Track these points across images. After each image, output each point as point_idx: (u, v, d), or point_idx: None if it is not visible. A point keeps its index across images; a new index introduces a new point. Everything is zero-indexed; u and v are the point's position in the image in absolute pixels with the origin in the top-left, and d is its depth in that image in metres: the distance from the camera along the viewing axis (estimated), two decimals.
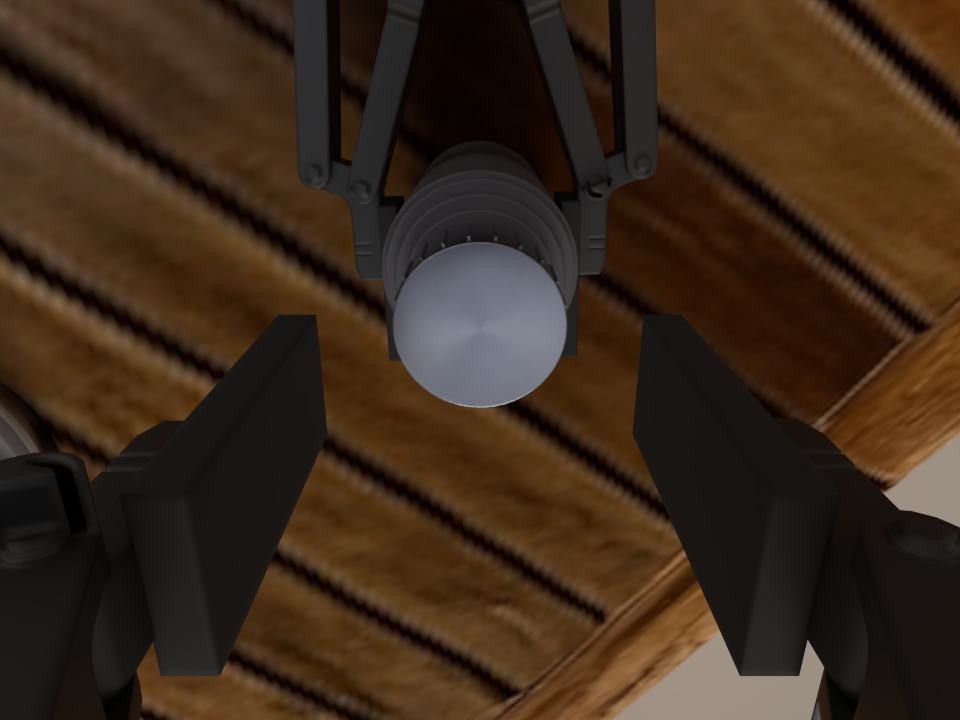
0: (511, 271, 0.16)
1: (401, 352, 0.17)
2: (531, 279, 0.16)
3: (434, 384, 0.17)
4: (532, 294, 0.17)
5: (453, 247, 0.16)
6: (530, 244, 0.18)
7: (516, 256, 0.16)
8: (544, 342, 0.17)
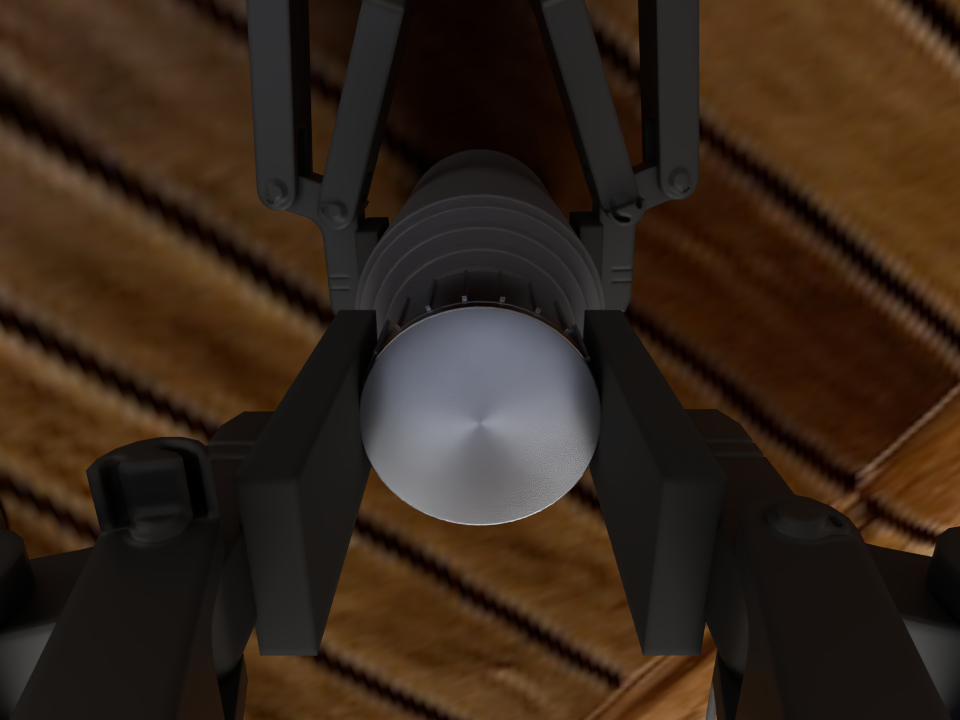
0: (524, 346, 0.12)
1: (371, 454, 0.12)
2: (553, 357, 0.12)
3: (417, 496, 0.13)
4: (554, 377, 0.12)
5: (442, 314, 0.11)
6: (549, 300, 0.13)
7: (532, 326, 0.11)
8: (570, 441, 0.12)
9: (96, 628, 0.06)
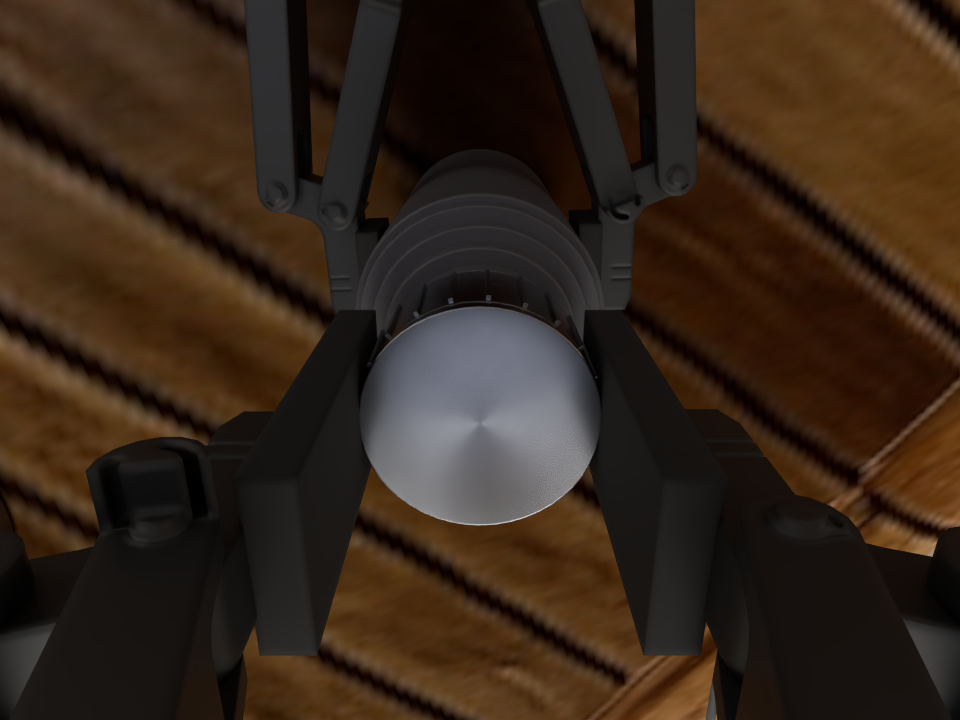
0: (389, 436, 0.12)
1: (570, 483, 0.13)
2: (380, 410, 0.12)
3: (587, 426, 0.12)
4: (395, 397, 0.12)
5: (411, 505, 0.13)
6: None
7: (369, 442, 0.12)
8: (440, 344, 0.12)
9: (96, 627, 0.06)
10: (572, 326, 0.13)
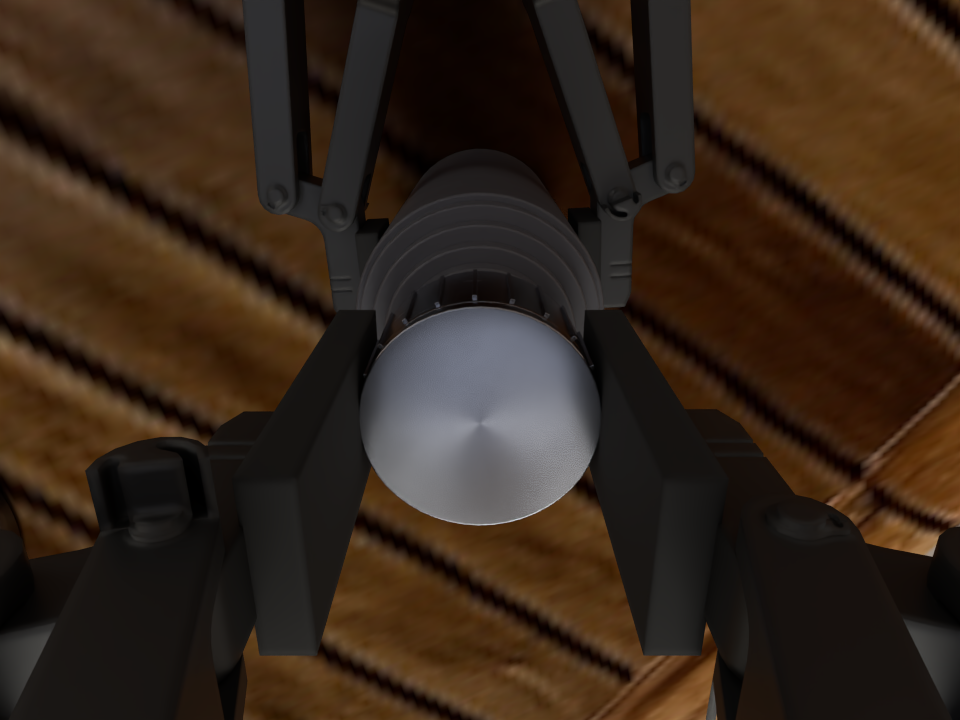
0: (543, 479, 0.13)
1: (479, 312, 0.11)
2: (524, 498, 0.13)
3: (415, 341, 0.11)
4: (505, 495, 0.13)
5: (600, 424, 0.12)
6: None
7: (559, 489, 0.13)
8: (435, 492, 0.13)
9: (96, 628, 0.06)
10: (373, 356, 0.13)
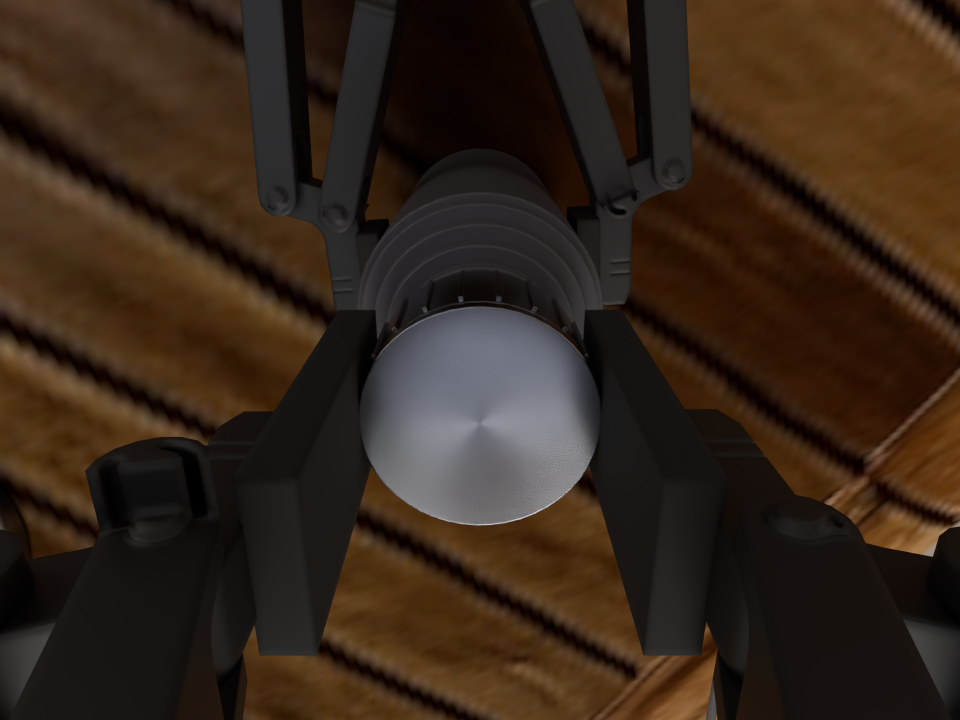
0: (494, 337, 0.11)
1: (389, 483, 0.13)
2: (525, 339, 0.11)
3: (447, 509, 0.13)
4: (534, 358, 0.12)
5: (405, 331, 0.11)
6: (517, 283, 0.13)
7: (494, 316, 0.11)
8: (573, 414, 0.12)
9: (96, 627, 0.06)
10: None
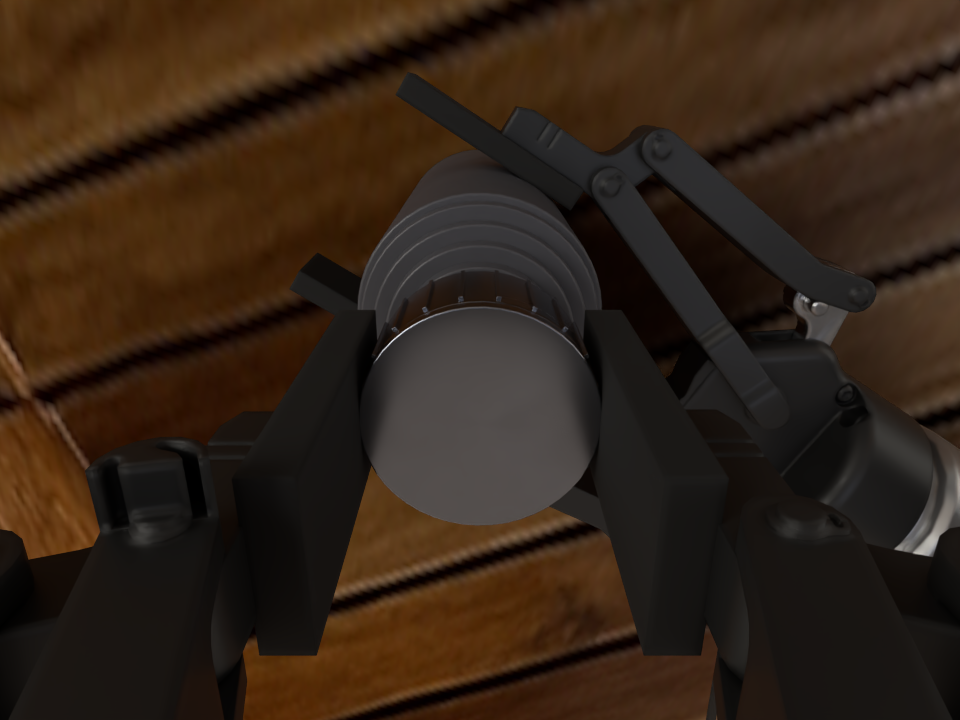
0: (494, 337, 0.11)
1: (390, 483, 0.13)
2: (525, 339, 0.11)
3: (447, 509, 0.13)
4: (534, 358, 0.12)
5: (405, 331, 0.11)
6: (517, 283, 0.13)
7: (494, 315, 0.11)
8: (573, 414, 0.12)
9: (97, 627, 0.06)
10: None
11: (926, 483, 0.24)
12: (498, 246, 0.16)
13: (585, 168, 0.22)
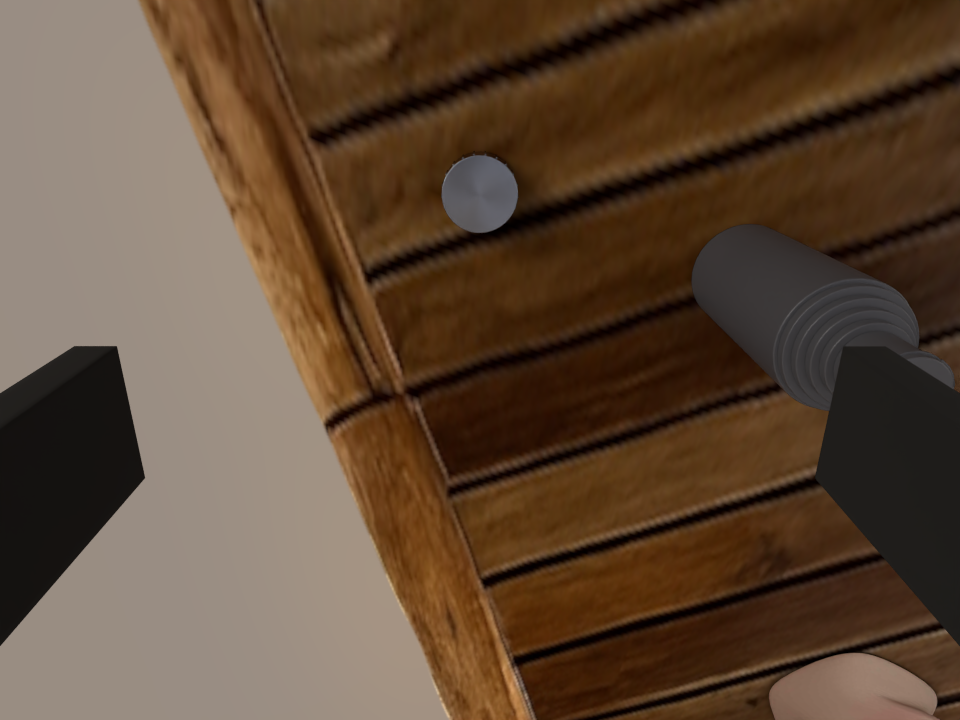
0: (484, 165, 0.38)
1: (450, 216, 0.39)
2: (493, 166, 0.38)
3: (469, 226, 0.40)
4: (496, 172, 0.38)
5: (457, 163, 0.38)
6: (491, 154, 0.40)
7: (483, 158, 0.38)
8: (508, 191, 0.39)
9: None
10: None
11: None
12: (883, 310, 0.29)
13: None
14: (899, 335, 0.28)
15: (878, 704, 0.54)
